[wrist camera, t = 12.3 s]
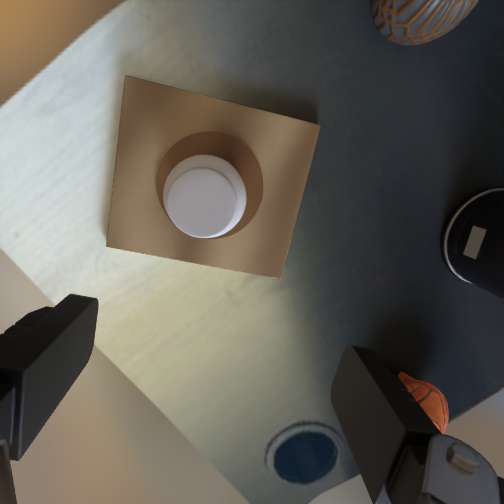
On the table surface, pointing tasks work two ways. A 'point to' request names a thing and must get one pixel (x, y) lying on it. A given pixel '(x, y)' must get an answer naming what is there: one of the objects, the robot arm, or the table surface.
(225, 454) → the table surface
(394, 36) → the vase
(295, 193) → the place mat
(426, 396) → the pot
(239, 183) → the pill bottle
